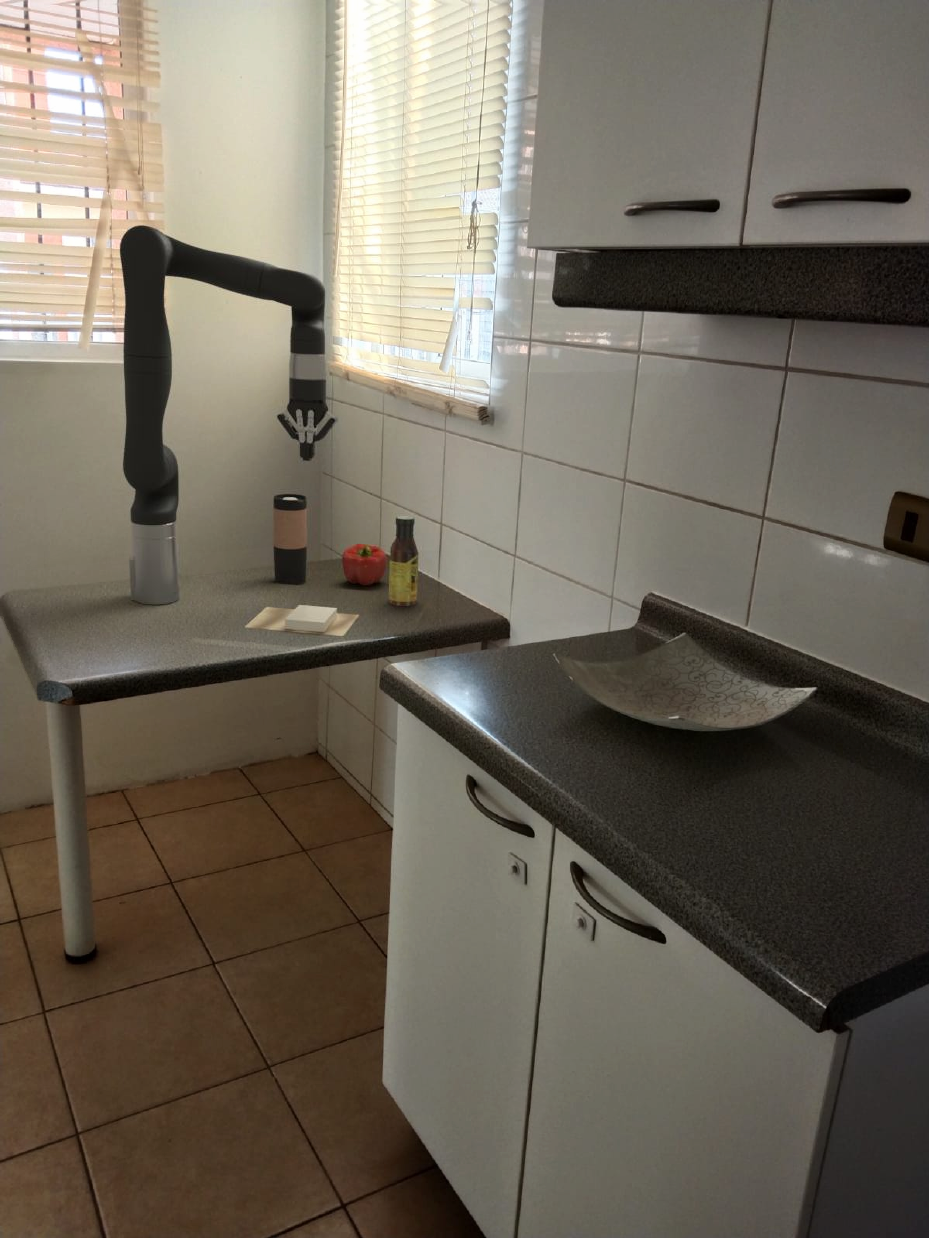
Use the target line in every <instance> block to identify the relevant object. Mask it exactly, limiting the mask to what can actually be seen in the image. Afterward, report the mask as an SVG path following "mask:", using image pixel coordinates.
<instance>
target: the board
mask: <svg viewBox="0 0 929 1238" xmlns="http://www.w3.org/2000/svg"><path fill="white" fill-rule="evenodd" d="M295 609H296V608H294V609H292V608H285V607H284V608H283V607H272V606H270V607H269V606H265V608H264V609H263V610H261V612H260V613H258V614H257V615H256V616H255V617H254V618H253V619H252V620H251V621H250V622H248V623H247V624H246V625H245V626H244V628H249V629H257V630H258V629H259V630H267V631H268V630H269V631H270V630H271V631H280V632H282V631H283V632H290V633H291V632H292V633H293V632H294V633H303V634H304V633H305V634H314V635H324V636H325V635H326V636H335V637H336V636H337V637H344V636H345V635H346V633H347V632H348V630H349V629H350V628H351V627H352V625H353V624H354V623H355V621H356V620H357V619H358V618H359V616H360V614H350V613H342V612H341V613H340V612H339V613H338V612H337V618H336V619H335V620H334V621H333V623H332V624H331V625H330V626H329V627H328V628H327V630H326V631H325V632H314V631H303V630H292V629H285V619H286V618H287V617H288V616H289V615H290V614H291V613H292V612H293V611H294V610H295Z"/></svg>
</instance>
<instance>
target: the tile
mask: <svg viewBox="0 0 929 1238" xmlns="http://www.w3.org/2000/svg"><path fill="white" fill-rule="evenodd" d="M294 609H295V610H294V611H293V612H292V613H291V614H290V615H289V616H288V617H287V618H286V619H285V629H292V630H303V631H314V632H325V631H326V630H327V628H328V627H329V626H330V625H331V624H332V623H333V621H334V620H335V619H336V618H337V613H338V608H337V607H327V606H316V605H307V604H306V605H304V604H299V605H297V606H296V607H295V608H294Z"/></svg>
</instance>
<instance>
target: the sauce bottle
mask: <svg viewBox="0 0 929 1238" xmlns="http://www.w3.org/2000/svg"><path fill="white" fill-rule="evenodd" d="M415 521H416V520H415V517H413V516H410V515H398V516H395V525H396V527H395V528H396V531H395V539H394V541H393V542H392V543H391V546H390V556H389V557H390V558H389V567H388V568H389V569H388V571H389V572H388V574H389V575H388V600H389V601H388V603H389V604H390V605H393V606H396V607H412V606H414V605H416V604H417V600H418V583H419V582H418V580H419V578H418V575H419V551H418V550H419V549H418V548H417V544H416V542H415V538H414V537H415V536H414V525H415V523H416V522H415Z"/></svg>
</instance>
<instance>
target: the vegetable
mask: <svg viewBox="0 0 929 1238" xmlns="http://www.w3.org/2000/svg"><path fill="white" fill-rule="evenodd" d="M387 560H388V558H387V555H386V553H385V551H384V550H383V548H381V547H379V546H376V545H369V544H366V543H365V544H363V543H357V544H354V545H352V546H350V547H346V549H344V551H343V553H342V556H341V562H342V569H343V574H344V576H345V579H347V581H348V582H349V583H350V584H355V585H356V584H359V585H361V586H371V585H372V584H376V583H378V582H379V581H380V580H381V579H382V578H383V576H384V575H385V572H386V569H387V568H386V567H387V563H388V562H387Z"/></svg>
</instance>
